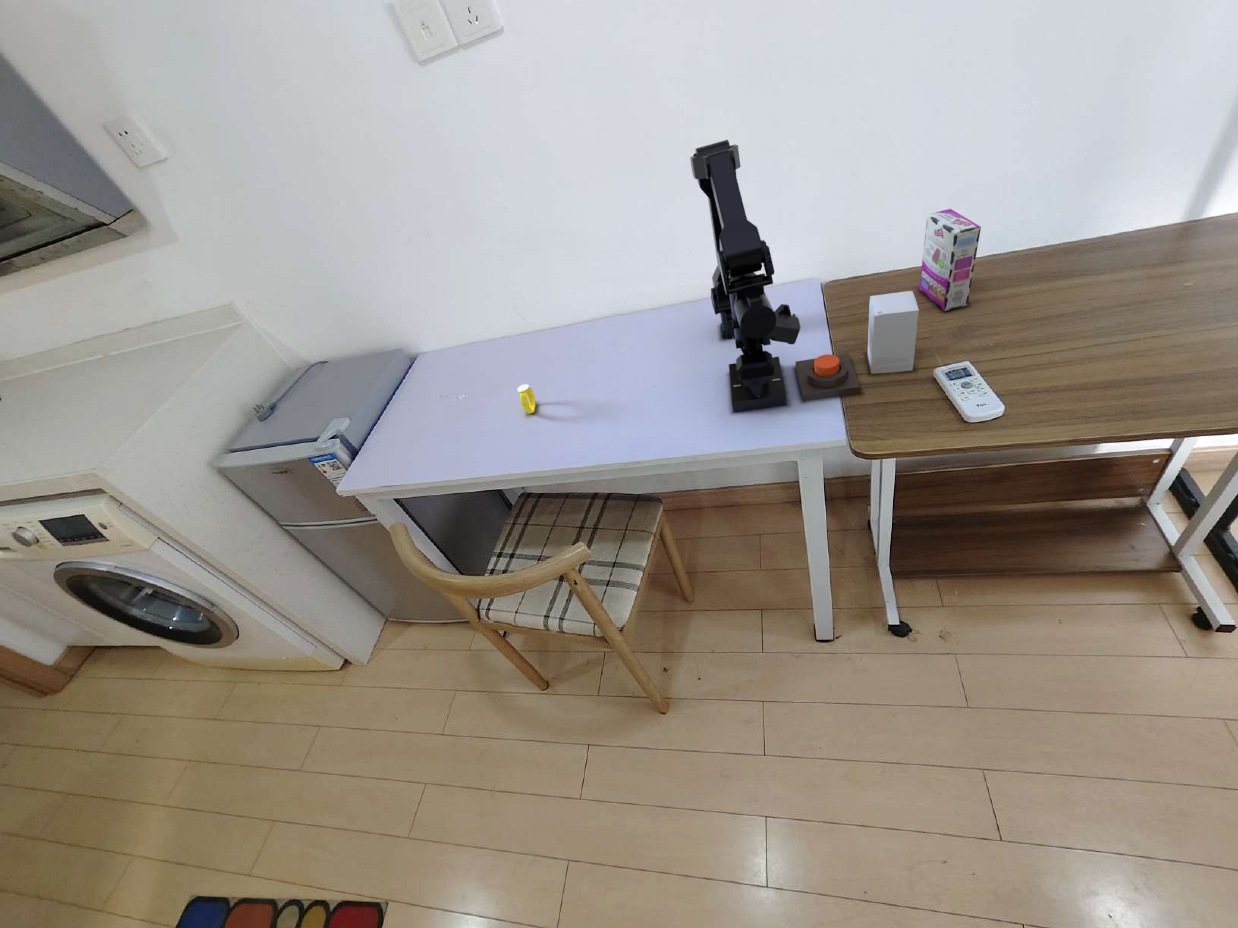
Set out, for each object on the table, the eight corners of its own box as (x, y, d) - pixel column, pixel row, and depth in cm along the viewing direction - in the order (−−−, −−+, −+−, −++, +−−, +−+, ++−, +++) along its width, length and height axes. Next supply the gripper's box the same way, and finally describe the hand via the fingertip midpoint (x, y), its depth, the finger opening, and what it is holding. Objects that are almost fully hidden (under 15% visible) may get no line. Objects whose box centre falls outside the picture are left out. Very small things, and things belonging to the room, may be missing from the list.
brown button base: (795, 368, 116) (794, 353, 114) (848, 360, 114) (848, 345, 112) (803, 401, 108) (802, 386, 106) (859, 393, 106) (860, 378, 104)
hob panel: (730, 374, 120) (728, 363, 119) (779, 366, 118) (778, 355, 116) (733, 412, 111) (731, 402, 109) (786, 405, 109) (786, 394, 107)
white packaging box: (913, 371, 107) (920, 310, 99) (870, 374, 109) (872, 315, 101) (908, 349, 112) (913, 289, 104) (866, 352, 114) (869, 294, 106)
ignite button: (812, 365, 111) (812, 356, 109) (837, 361, 110) (837, 352, 108) (816, 378, 107) (816, 369, 106) (841, 375, 106) (841, 366, 105)
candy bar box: (969, 306, 117) (983, 226, 106) (944, 312, 117) (955, 233, 107) (941, 283, 125) (951, 207, 115) (918, 289, 126) (925, 214, 115)
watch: (536, 416, 127) (527, 394, 123) (524, 418, 127) (515, 397, 124) (539, 400, 131) (530, 379, 128) (528, 402, 132) (518, 381, 128)
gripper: (803, 328, 93) (806, 405, 103) (789, 276, 106) (793, 348, 116) (732, 340, 95) (742, 413, 106) (728, 287, 109) (737, 357, 119)
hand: (756, 381), depth 112 cm, fingers open, 9 cm apart
